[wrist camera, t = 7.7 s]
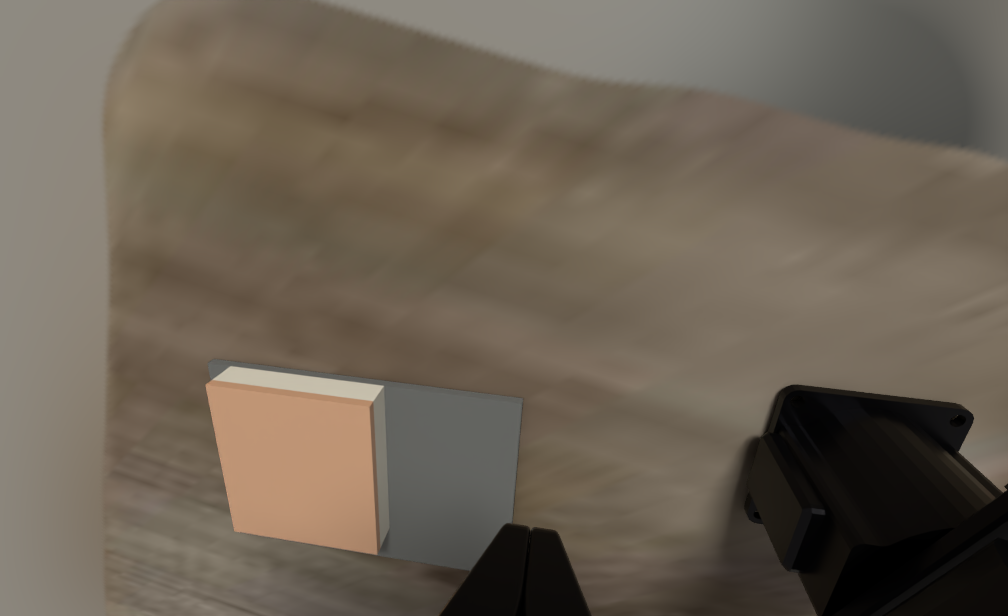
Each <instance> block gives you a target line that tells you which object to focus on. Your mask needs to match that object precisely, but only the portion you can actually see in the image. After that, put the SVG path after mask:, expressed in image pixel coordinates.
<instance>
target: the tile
mask: <svg viewBox="0 0 1008 616" xmlns="http://www.w3.org/2000/svg"><path fill="white" fill-rule="evenodd" d="M206 390H207V395H208V400H209V405H210V410H211V415H212V420H213V425H214V430H215V435H216V440H217V445H218V450H219V456H220V461H221V466H222V471H223V476H224V481H225V486H226V491H227V496H228V501H229V506H230V511H231V516H232V521H233V526H234V531H236V532H242V533H248V534H254V535H260V536H266V537H272V538H278V539H284V540H290V541H296V542H302V543H308V544H314V545H320V546H326V547H332V548H338V549H344V550H351V551H357V552H363V553H369V554H375V555H378V552H379V550H380V548H381V546H382V543H383V541H384V539H385V537H386V535H387V532H388V530H389V528H390V526H389V500H388V475H387V449H386V423H385V398H384V386H381V385H374V384H366V383H358V382H350V381H342V380H335V379H327V378H319V377H311V376H303V375H296V374H288V373H280V372H272V371H265V370H257V369H249V368H241V367H233V366H230V367H229V368H227V369H226V370H225V371H223V372H222V373H221V374H219V375H218V376H217V377H215V378H214V379H213V380H211V381H210V382H209V383H207V384H206Z"/></svg>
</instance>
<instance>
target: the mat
mask: <svg viewBox="0 0 1008 616" xmlns="http://www.w3.org/2000/svg"><path fill="white" fill-rule="evenodd" d="M230 366H233V367H241V368H249V369H257V370H265V371H272V372H280V373H288V374H296V375H303V376H311V377H319V378H327V379H335V380H342V381H350V382H358V383H366V384H374V385H381V386H384V398H385V423H386V449H387V475H388V500H389V526H390V528H389V530H388V532H387V535H386V537H385V539H384V541H383V543H382V546H381V548H380V550H379V552H378V555H377V556H383V557H389V558H395V559H401V560H407V561H413V562H420V563H426V564H432V565H438V566H444V567H450V568H456V569H462V570H468V571H471V569H472V568H473V566H474V565H475V564H476V562H477V561H478V559H479V558H480V557H481V555H482V554H483V552H484V551H485V550H486V548H487V547H488V545H489V544H490V543H491V541H492V540H493V539H494V537H495V536H496V534H497V533H498V532H499V530H500V529H501V527H502V526H503V525H504V524H506V523H512V522H513V511H514V499H515V487H516V476H517V464H518V453H519V441H520V429H521V418H522V406H523V398H517V397H509V396H501V395H493V394H485V393H477V392H469V391H462V390H454V389H446V388H438V387H430V386H422V385H414V384H407V383H399V382H391V381H383V380H375V379H367V378H359V377H352V376H344V375H336V374H328V373H320V372H312V371H304V370H296V369H289V368H281V367H273V366H265V365H257V364H249V363H241V362H234V361H226V360H218V359H213V360H211V361H210V362H209V363H208V368H209V373H210V379H211V380H213V379H214V378H215V377H217V376H218V375H219V374H221V373H222V372H223V371H225V370H226V369H227V368H229V367H230ZM240 533H242V532H240ZM245 534H248V533H245ZM251 535H254V534H251ZM257 536H260V535H257ZM263 537H266V536H263ZM269 538H272V537H269ZM275 539H278V538H275ZM281 540H284V539H281ZM287 541H290V540H287ZM293 542H296V541H293ZM299 543H302V542H299ZM305 544H308V543H305ZM311 545H314V544H311ZM317 546H320V545H317ZM323 547H326V546H323ZM329 548H332V547H329ZM335 549H338V548H335ZM341 550H344V549H341ZM347 551H351V550H347ZM353 552H357V551H353ZM359 553H363V552H359ZM365 554H369V553H365ZM371 555H375V554H371Z"/></svg>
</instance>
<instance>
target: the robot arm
mask: <svg viewBox="0 0 1008 616" xmlns="http://www.w3.org/2000/svg"><path fill="white" fill-rule="evenodd" d="M795 396H801V397H800V399H799V400H797V401H795V402H791V399H792V398H793V397H795ZM956 415H958V416H957V417H956V418H955V419H953V420H951V418H952V417H954V416H956ZM973 420H974V417H973V414H972V413H971V412H970V411H968V410H967V409H966V408H964V407H963V406H962V405H960V404H957V403H949V402H941V401H932V400H924V399H915V398H907V397H898V396H890V395H881V394H873V393H864V392H856V391H847V390H839V389H830V388H822V387H813V386H805V385H790V386H787V387H786V388H784V389H783V390H782V391H781V393H780V395H779V398H778V402H777V405H776V408H775V411H774V414H773V417H772V421H771V424H770V427H769V430H768V432H767V433H765V434H764V435H763V436H762V437H761V440H760V443H759V446H758V449H757V452H756V456H755V459H754V462H753V465H752V468H751V472H750V475H749V478H748V481H747V487H748V490H749V493H748V496H747V499H746V503H745V508H744V509H745V511H746V514H747V516H748V518H749V520H751V521H752V522H754V523H758V524H764V526H765V528H766V531H767V533H768V535H769V537H770V540H771V542H772V544H773V547H774V549H775V551H776V553H777V556H778V558H779V560H780V562H781V564H782V565H783V566H784V568H785V569H786V570H787V571H790V572H796V573H798V575H799V577H800V579H801V581H802V583H803V586H804V588H805V590H806V592H807V594H808V596H809V598H810V601H811V603H812V605H813V607H814V609H815V611H816V613H817V616H1008V484H1007V485H1005V486H1004V487H1005V488H1006V489H1007V491H1005V492H1004V493H1003V492H1001V491H1000V490H999V489H998V488H997V487H996V486H995V485H994V484H993V483H992V482H991V481H989V480H988V479H987V478H986V477H985V476H984V475H983V474H982V473H981V472H980V471H979V470H977V469H976V468H975V467H974V466H973V465H972V464H971V463H970V462H969V461H968V460H967V459H965V458H964V457H963V456H962V455H961V454H960V453H959V452H958V451H959V449H960V447H961V445H962V444H963V442H964V440H965V438H966V436H967V434H968V432H969V430H970V428H971V426H972V424H973ZM756 510H758V512H755V511H756ZM529 540H530V542H529ZM528 549H529V551H528ZM527 559H528V560H527ZM521 613H522V614H521ZM438 616H591V613H590V611H589V608H588V606H587V603H586V601H585V598H584V596H583V593H582V591H581V588H580V586H579V583H578V581H577V578H576V576H575V573H574V571H573V568H572V566H571V563H570V561H569V558H568V556H567V553H566V551H565V548H564V546H563V543H562V541H561V538H560V536H559V534H558V532H556V531H555V530H550V529H544V528H537V527H534V528H532V530H531V533H530V528H529V527H528V526H524V525H518V524H512V523H506V524H504V525H503V526H502V527H501V529H500V530H499V532H498V533H497V534H496V536H495V537H494V539H493V540H492V541H491V543H490V544H489V545H488V547H487V548H486V550H485V551H484V552H483V554H482V555H481V557H480V558H479V559H478V561H477V562H476V564H475V565H474V566H473V568H472V569H471V571H470V572H469V573H468V575H467V576H466V578H465V579H464V580H463V582H462V583H461V585H460V586H459V587H458V589H457V590H456V592H455V593H454V594H453V596H452V597H451V599H450V600H449V601H448V603H447V604H446V605H445V607H444V608H443V610H442V611H441V612H440V614H439V615H438Z"/></svg>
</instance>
